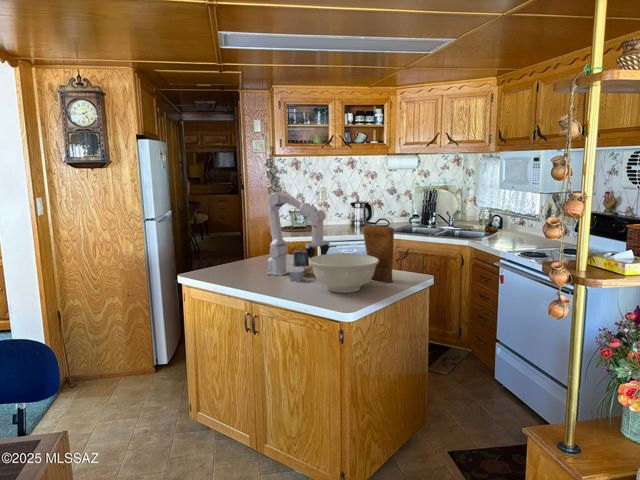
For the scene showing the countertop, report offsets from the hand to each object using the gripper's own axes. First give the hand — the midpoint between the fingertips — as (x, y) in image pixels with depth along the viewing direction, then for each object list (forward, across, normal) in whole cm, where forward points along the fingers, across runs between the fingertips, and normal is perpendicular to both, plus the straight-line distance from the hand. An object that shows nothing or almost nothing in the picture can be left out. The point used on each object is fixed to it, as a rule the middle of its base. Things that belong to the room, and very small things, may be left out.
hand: (317, 260), depth 242 cm
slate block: (+10, -10, +5) cm, 15 cm away
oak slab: (+8, +2, +8) cm, 11 cm away
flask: (+10, +14, +30) cm, 35 cm away
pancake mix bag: (+10, +21, -23) cm, 33 cm away
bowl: (+10, -4, -23) cm, 26 cm away
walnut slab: (+10, +2, +8) cm, 13 cm away
